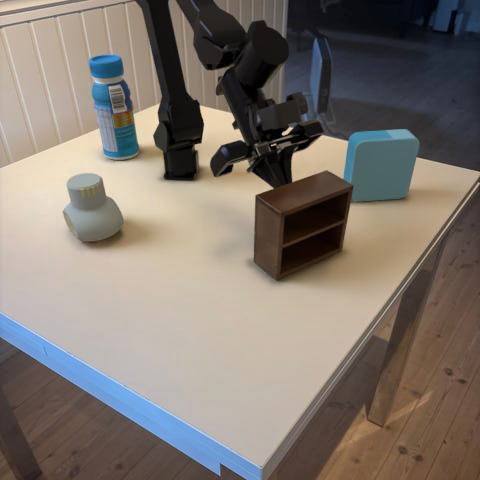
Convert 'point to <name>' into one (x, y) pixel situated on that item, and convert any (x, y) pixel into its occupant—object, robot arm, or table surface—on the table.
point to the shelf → (300, 223)
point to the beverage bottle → (113, 107)
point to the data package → (380, 164)
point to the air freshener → (91, 209)
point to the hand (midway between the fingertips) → (290, 198)
